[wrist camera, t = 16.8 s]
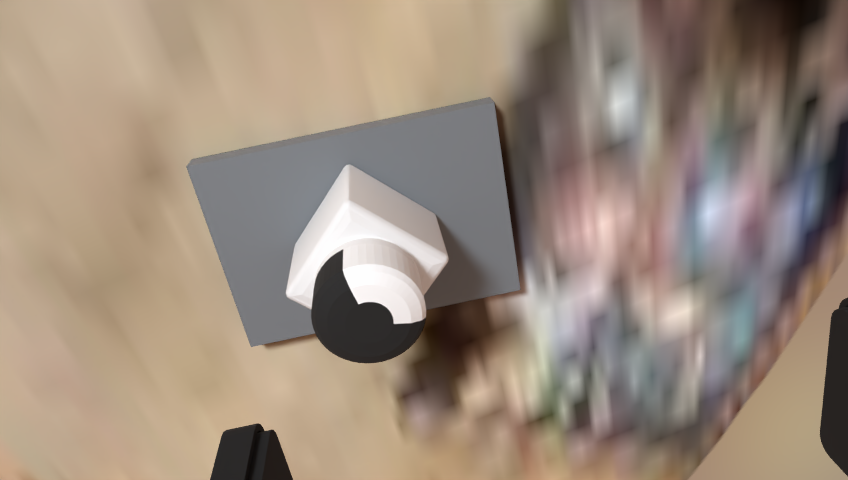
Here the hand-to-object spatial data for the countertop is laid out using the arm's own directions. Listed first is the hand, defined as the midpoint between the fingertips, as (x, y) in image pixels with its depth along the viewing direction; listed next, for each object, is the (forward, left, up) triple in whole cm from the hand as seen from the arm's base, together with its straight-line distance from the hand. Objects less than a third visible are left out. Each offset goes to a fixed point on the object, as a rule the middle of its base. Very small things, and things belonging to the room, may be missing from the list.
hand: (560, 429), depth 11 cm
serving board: (+5, +10, -34) cm, 36 cm away
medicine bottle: (+5, +10, -33) cm, 35 cm away
